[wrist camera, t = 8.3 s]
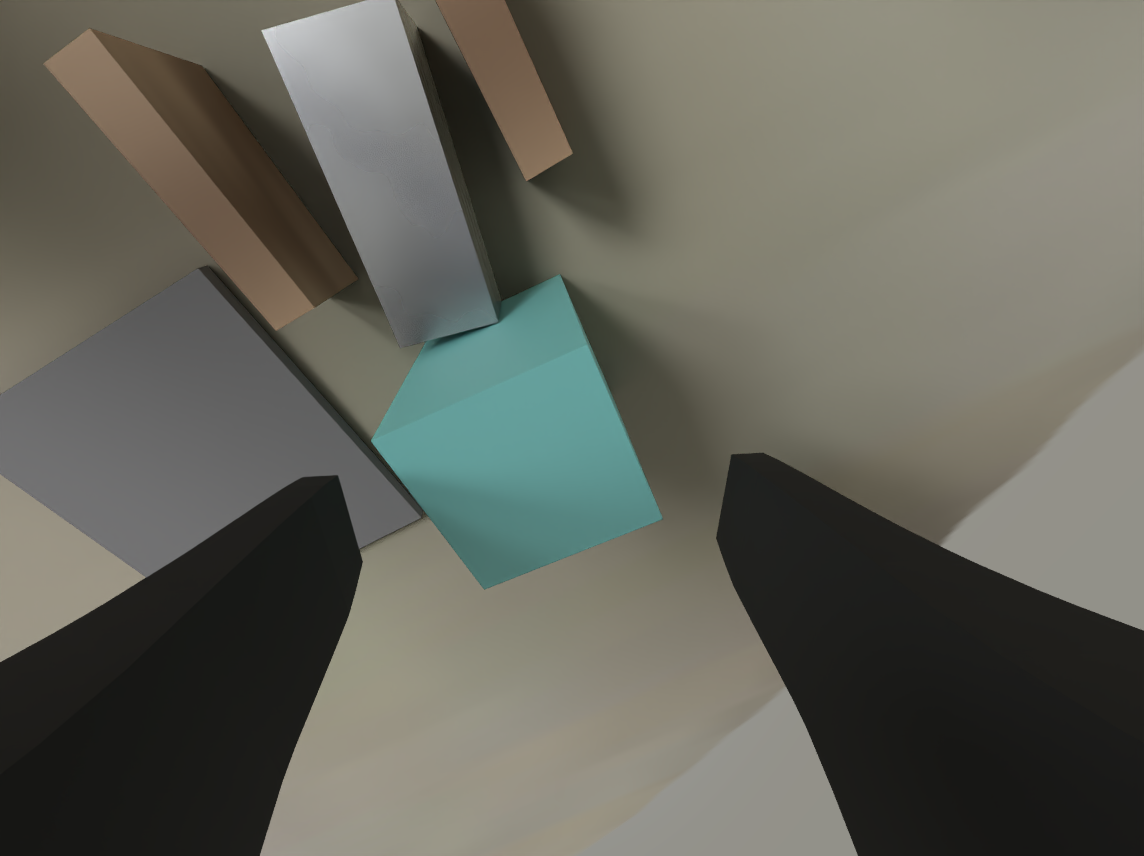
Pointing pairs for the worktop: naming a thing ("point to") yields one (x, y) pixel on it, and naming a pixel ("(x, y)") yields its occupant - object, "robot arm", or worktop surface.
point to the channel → (243, 169)
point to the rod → (390, 164)
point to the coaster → (183, 430)
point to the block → (516, 441)
